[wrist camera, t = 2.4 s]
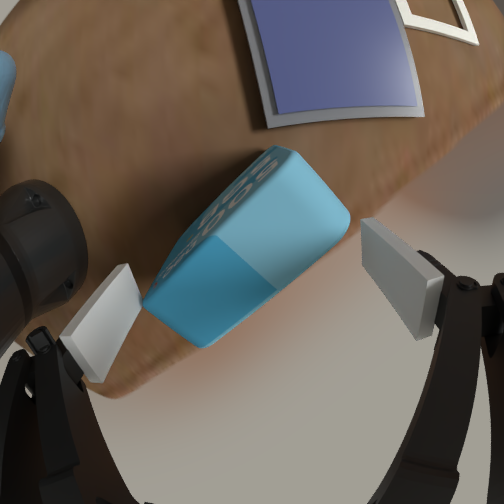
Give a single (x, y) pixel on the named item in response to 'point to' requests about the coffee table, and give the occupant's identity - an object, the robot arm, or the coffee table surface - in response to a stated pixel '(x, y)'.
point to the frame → (440, 23)
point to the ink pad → (330, 60)
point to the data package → (246, 247)
